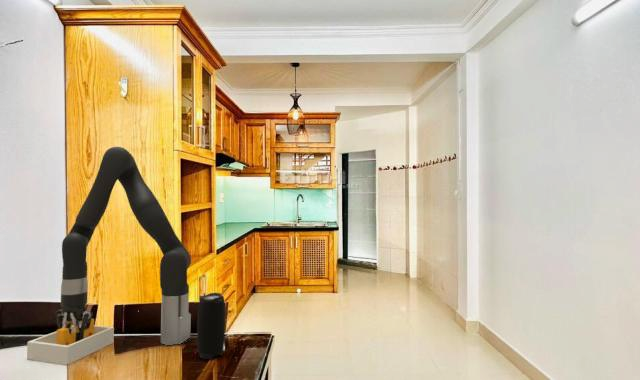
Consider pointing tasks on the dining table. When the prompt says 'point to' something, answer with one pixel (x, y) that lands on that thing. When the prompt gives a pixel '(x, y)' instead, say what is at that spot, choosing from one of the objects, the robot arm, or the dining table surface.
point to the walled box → (64, 354)
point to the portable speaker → (211, 325)
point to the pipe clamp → (72, 335)
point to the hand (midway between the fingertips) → (73, 341)
